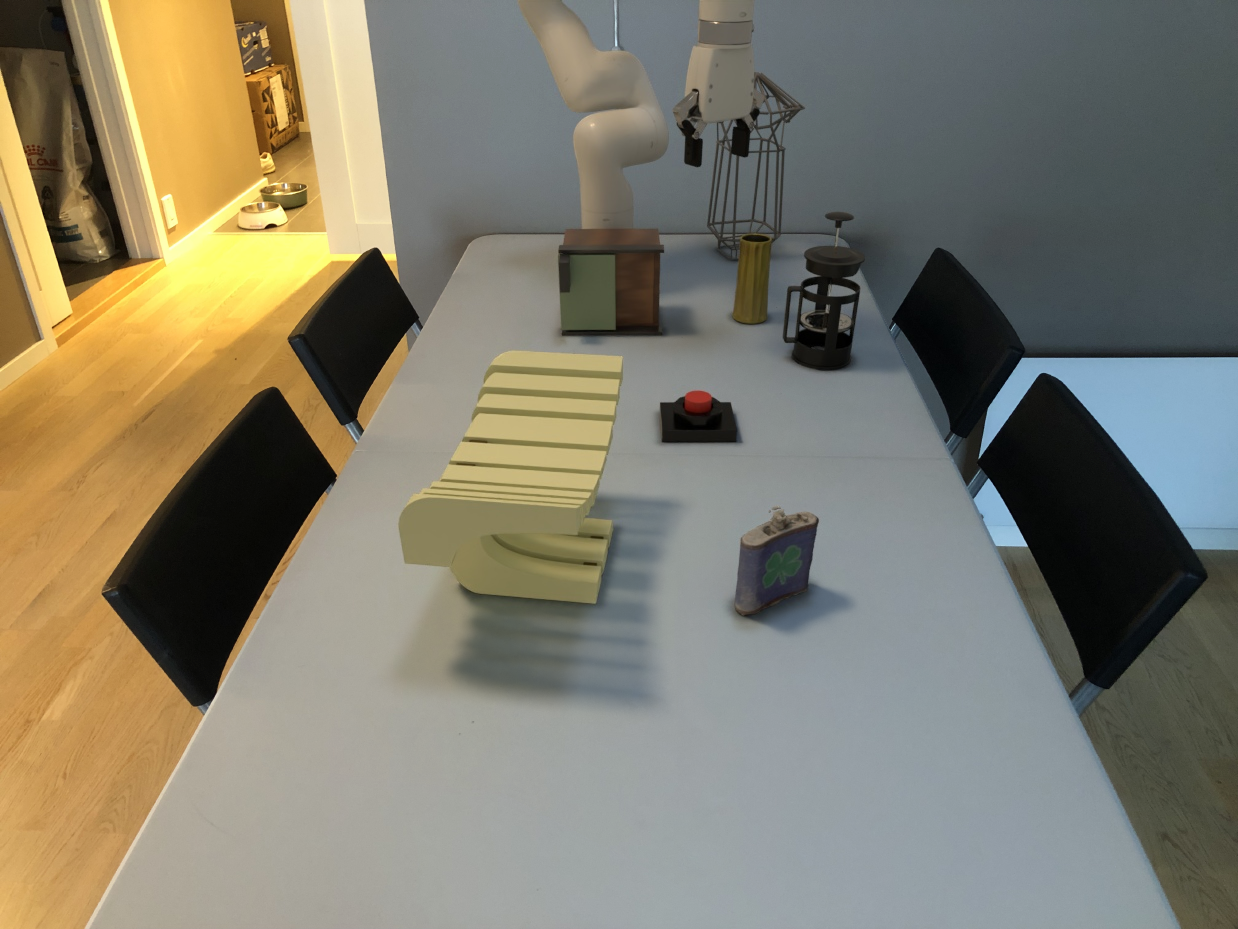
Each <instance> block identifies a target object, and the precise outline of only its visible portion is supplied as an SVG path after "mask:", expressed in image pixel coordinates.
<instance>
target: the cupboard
mask: <svg viewBox="0 0 1238 929" xmlns="http://www.w3.org/2000/svg"><path fill="white" fill-rule="evenodd" d="M563 236H564V237H563V241H562V244H559V245H558V249H557V250H558V251H557V252H558V254H577V253H615V305H616V330H561V336H663V326H662V325H660V298H661V297H660V293H661V292H660V290H661V254H665V245H664V244H661V240H660V231H659V228H633V229H582V228H565V231H564V235H563Z"/></svg>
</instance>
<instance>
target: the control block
mask: <svg viewBox="0 0 1238 929" xmlns="http://www.w3.org/2000/svg"><path fill="white" fill-rule="evenodd" d="M659 423H660V436H661V443H737V440H738V439H737V437H738V427H737V423H736V419H735V414H734V410H733V405H732V402H731V401H720V400H718V398H716V397H714V396H712V402H711V410H710V411H708V412H704V413H694V412H690V411H687V410H686V409H685V395H684V396H680V397H678V398H677V399H676V400H675V401H661V402H659Z"/></svg>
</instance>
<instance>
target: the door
mask: <svg viewBox="0 0 1238 929" xmlns="http://www.w3.org/2000/svg"><path fill="white" fill-rule="evenodd" d="M557 266H558V287H559V288H558V289H559V312H560V313H559V314H560V330H561V331H562V330H616V305H615V253H577V254H563V253H558V254H557Z"/></svg>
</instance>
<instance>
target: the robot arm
mask: <svg viewBox="0 0 1238 929" xmlns="http://www.w3.org/2000/svg"><path fill="white" fill-rule="evenodd" d="M516 1H517V5H518V7H519V9H520V12H521V14H522V16H523V18H524V20H525V22H526V23H527V25H528V27H529V28H530V30H531V31H532V33H533V34H534V36H535V38H536V40H537V42H538V43H539V45H540V47H541V49H542V51H543V54H544V56H545V59H546V62H547V64H548V67H549V69H550V72H551V74H552V76H553V79H554V82H555V84H556V87H557V88H558V91H559V93H560V96H561V98H562V100H563V102H564V103H565V105H566V106H567V108H568V109H569V110H570V111H572V112H573V113H578V114H582V113H583V114H586V113H587V114H588V113H592V114H589V115H587V116H585V117H583V118H582V119H581V120H579V122H577V124H576V126H575V128H574V130H573V136H572V143H573V144H572V145H573V150H574V156H575V160H576V164H577V171H578V178H579V179H578V180H579V192H580V193H579V194H580V214H581V216H580V217H581V229H634V192H633V189H632V186H631V184H630V182H629V181H628V179H627V177H626V176H625V174H624V172H623V169H624V168H629V167H633V166H640V165H645V164H649V163H653V162H656V161H658V160H660V159H661V158H663V156H664V155H665V154H666V152H667V151H668V147H669V141H670V133H669V127H668V124H667V120H666V117H665V115H664V112H663V110H662V107H661V105H660V102H659V100H658V97H657V95H656V92H655V90H654V88H653V85H652V83H651V80H650V77H649V75H648V73H647V71H646V69H645V67H644V65H643V63H642V62H641V61H640V60H639V58H638V57H637V56H636V55H634V54H633V53H631V52H630V51H627V50H620V49H619V50H607V51H605V50H604V51H601V50H599V49H598V48H597V47H596V46H595V44H594V43H593V40H592V38H591V36H590V32H589V30H588V28H587V26H586V25H585V23H584V22H583V20H582V19H581V18H580V17H579V15H578V14H577V13H576V12H575V11H573V9H571V8H570V7H569V6H568V5H566V4H565V3H564V2H563V0H516ZM754 12H755V0H699V2H698V19H697V20H698V21H697V42H696V43H697V44H696V45H693V46H692V48H691V53H690V56H689V62H688V67H687V73H686V80H685V88H684V98H683V99H681V100H679V102H678V103H676V104H675V105H674V106H673V107H672V113H673V116H674V119H675V121H676V127H677V129H679V131H680V132H681V136H683V137H684V151H683V153H684V155H683V162H684V164H685V165H687V166H691V167H695V168H700V167H701V166H702V165H703V164H702V163H703V148H704V146H703V145H704V139H703V138H701V135H702V134H703V132H704V131H705V129H706V127H707V125H708V124H717V122H723V121H724V122H727V121H728V122H730V121H731V120H733V122H734V123H735V125H736V126H733V127H732V131H731V139H732V141H731V144H730V145H731V153H732V156H733V155H734V156H739V158H740V157H741V158H748V157H749V154H750V153H749V151H750V143H751V140H750V138H751V134H750V131H751V130H752V129H753V128H754V124H755V123H756V119H758V117H759V116H760V114H759V113H760V111H761V108H762V106H763V104H764V103H763V101H764V98H765V97H764V95H763V94H762V93H761V91H760V90H758V89H757V90H756V89H754V72H755V59H754V58H755V57H754V56H755V55H754V46H753V44H752V36H753V35H752V34H753V33H754V31H755V25H754ZM724 122H723V123H724ZM754 129H755V128H754Z"/></svg>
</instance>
